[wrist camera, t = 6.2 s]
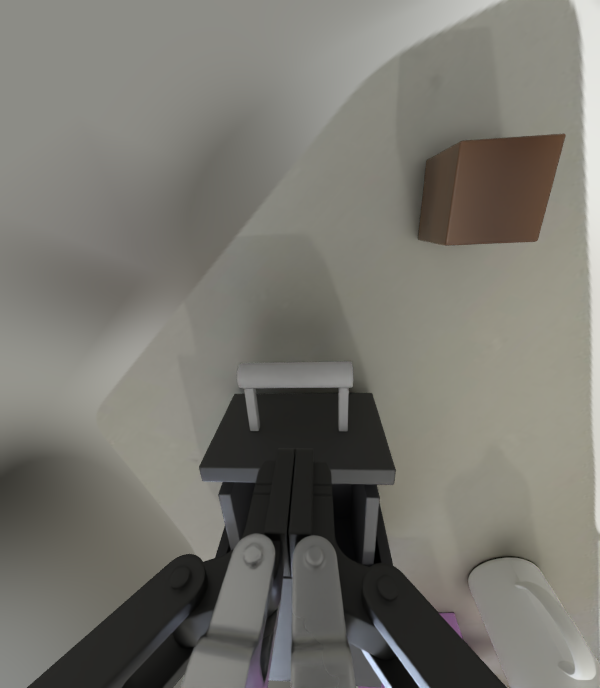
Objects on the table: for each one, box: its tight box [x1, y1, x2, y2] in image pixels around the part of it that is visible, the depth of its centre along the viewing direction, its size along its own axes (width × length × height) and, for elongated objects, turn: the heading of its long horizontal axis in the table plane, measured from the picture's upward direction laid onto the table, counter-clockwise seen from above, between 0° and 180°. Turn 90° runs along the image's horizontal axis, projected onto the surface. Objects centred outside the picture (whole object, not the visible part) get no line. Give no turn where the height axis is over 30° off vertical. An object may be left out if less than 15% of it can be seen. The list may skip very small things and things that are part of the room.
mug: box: [468, 558, 600, 688], centre depth 27 cm, size 12×8×10 cm, turn 11°
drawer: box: [199, 361, 396, 567], centre depth 22 cm, size 20×11×8 cm, turn 3°
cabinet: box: [215, 502, 393, 688], centre depth 27 cm, size 16×13×10 cm
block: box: [418, 134, 565, 245], centre depth 16 cm, size 5×5×5 cm
